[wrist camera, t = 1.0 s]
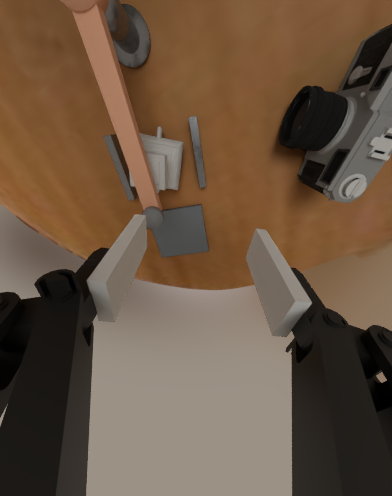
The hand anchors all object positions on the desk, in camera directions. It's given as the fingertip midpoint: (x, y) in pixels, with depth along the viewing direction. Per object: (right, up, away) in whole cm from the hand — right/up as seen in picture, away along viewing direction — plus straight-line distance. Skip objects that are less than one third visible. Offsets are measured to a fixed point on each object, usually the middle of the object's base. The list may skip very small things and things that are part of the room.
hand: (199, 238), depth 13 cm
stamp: (-6, +13, +15) cm, 20 cm away
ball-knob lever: (-7, +11, +4) cm, 13 cm away
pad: (-3, +2, +22) cm, 22 cm away
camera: (+17, +17, +11) cm, 27 cm away
